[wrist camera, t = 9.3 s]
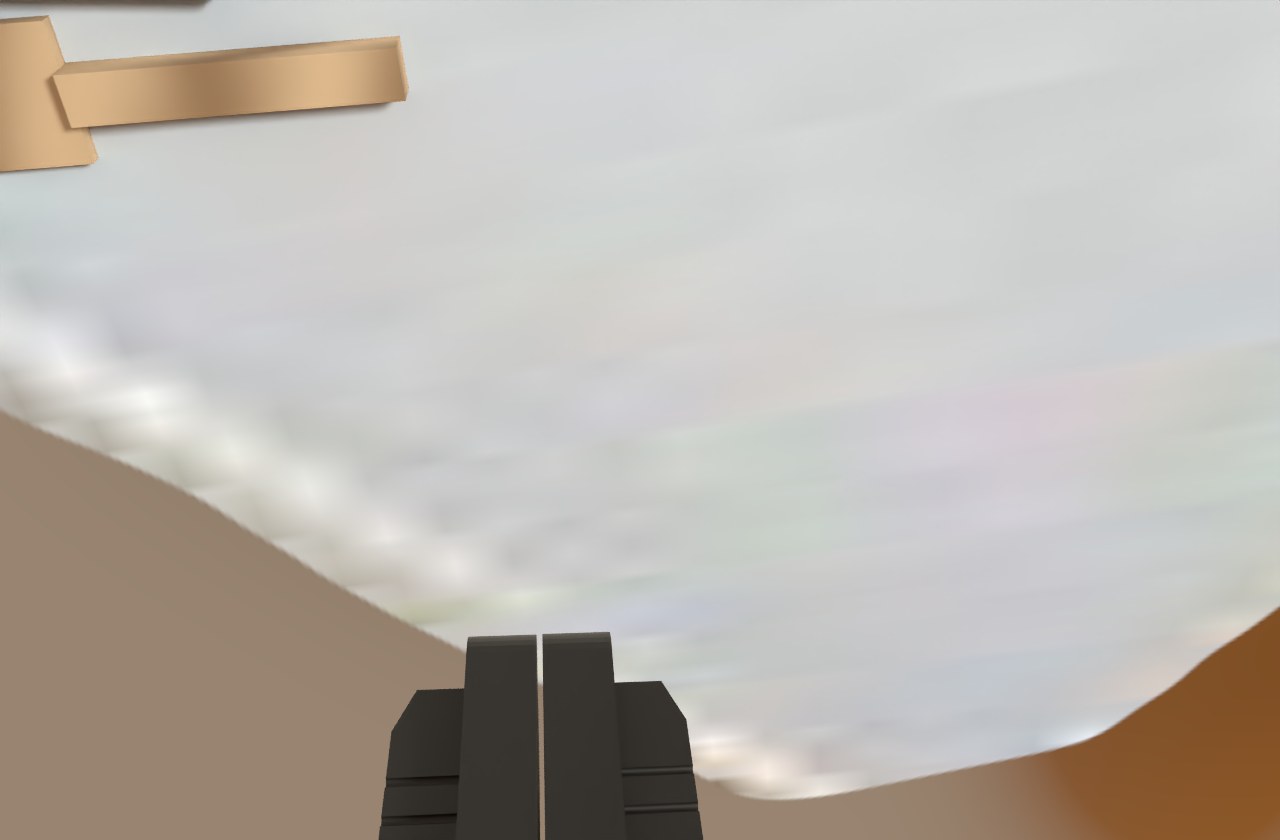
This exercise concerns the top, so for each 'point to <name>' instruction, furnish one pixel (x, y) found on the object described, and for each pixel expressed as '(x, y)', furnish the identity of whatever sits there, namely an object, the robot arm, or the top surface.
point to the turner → (170, 88)
